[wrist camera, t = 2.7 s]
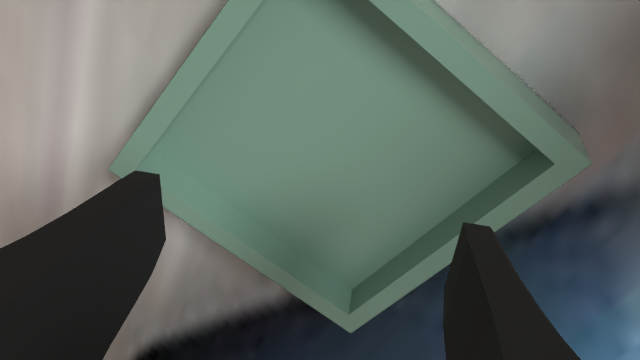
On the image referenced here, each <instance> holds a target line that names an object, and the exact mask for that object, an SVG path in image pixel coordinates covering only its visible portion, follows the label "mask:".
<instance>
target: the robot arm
mask: <svg viewBox="0 0 640 360" xmlns="http://www.w3.org/2000/svg"><path fill="white" fill-rule="evenodd" d="M165 240H166V235H165V225H164V214H163V204H162V193H161V183H160V174H155V173H149V172H143V171H136V170H135V171H133V172H132V173H130V174H128V175H126V176H125V177H123V178H122V179H120V180H118V181H117V182H115V183H114V184H112V185H111V186H109V187H108V188H106V189H104V190H103V191H101V192H100V193H98V194H97V195H95V196H93V197H92V198H90V199H89V200H87V201H85V202H84V203H82V204H81V205H79V206H77V207H76V208H74V209H73V210H71V211H69V212H68V213H66V214H64V215H63V216H61V217H59V218H57V219H56V220H54V221H52V222H50V223H48V224H47V225H45V226H43V227H41V228H40V229H38V230H36V231H34V232H32V233H31V234H29V235H27V236H25V237H23V238H21V239H19V240H17V241H15V242H13V243H11V244H9V245H7V246H5V247H3V248H0V360H103V358H104V356H105V354H106V352H107V350H108V348H109V347H110V345H111V343H112V342H113V340H114V338H115V336H116V335H117V333H118V331H119V330H120V328H121V326H122V325H123V323H124V321H125V319H126V318H127V316H128V314H129V313H130V311H131V309H132V308H133V306H134V304H135V303H136V301H137V299H138V297H139V296H140V294H141V292H142V290H143V289H144V287H145V285H146V283H147V282H148V280H149V278H150V276H151V274H152V272H153V270H154V267H155V265H156V263H157V260H158V258H159V256H160V253H161V250H162V248H163V245H164V243H165ZM443 327H444V339H445V350H446V360H581V359H580V358H579V357H578V356H577V355H576V353H575V352H574V351H573V350H572V349H571V348H570V347H569V345H568V344H567V343H566V342H565V341H564V340H563V338H562V337H561V336H560V334H559V333H558V332H557V331H556V329H555V328H554V327H553V325H552V324H551V323H550V321H549V320H548V318H547V317H546V316H545V314H544V313H543V312H542V310H541V309H540V307H539V306H538V304H537V303H536V301H535V300H534V298H533V297H532V295H531V294H530V292H529V291H528V289H527V288H526V286H525V285H524V283H523V281H522V280H521V278H520V277H519V275H518V273H517V272H516V270H515V268H514V267H513V265H512V263H511V262H510V260H509V258H508V256H507V255H506V253H505V251H504V249H503V248H502V246H501V244H500V242H499V240H498V238H497V237H496V235H495V233H494V231H493V230H492V228H491V227H490V226H485V225H478V224H472V223H466V222H463V224H462V228H461V231H460V235H459V238H458V242H457V245H456V249H455V252H454V255H453V259H452V262H451V266H450V269H449V273H448V276H447V280H446V283H445V290H444V318H443Z"/></svg>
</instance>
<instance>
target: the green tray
mask: <svg viewBox="0 0 640 360" xmlns="http://www.w3.org/2000/svg"><path fill="white" fill-rule="evenodd" d="M591 164H592V162H591V160H590V158H589V155H588V153H587V151H586V149H585V146H584V144H583V142H582V139H581V137H580V135H579V133H578V132H577V131H576V130H575V129H574V128H573V127H571V126H570V125H569V124H568V123H567V122H566V121H565V120H564V119H563V118H562V117H561V116H559V115H558V114H557V113H556V112H555V111H554V110H553V109H552V108H551V107H550V106H549V105H547V104H546V103H545V102H544V101H543V100H542V99H541V98H540V97H539V96H538V95H537V94H535V93H534V92H533V91H532V90H531V89H530V88H529V87H528V86H527V85H526V84H525V83H523V82H522V81H521V80H520V79H519V78H518V77H517V76H516V75H515V74H514V73H513V72H511V71H510V70H509V69H508V68H507V67H506V66H505V65H504V64H503V63H502V62H501V61H499V60H498V59H497V58H496V57H495V56H494V55H493V54H492V53H491V52H490V51H489V50H487V49H486V48H485V47H484V46H483V45H482V44H481V43H480V42H479V41H478V40H477V39H475V38H474V37H473V36H472V35H471V34H470V33H469V32H468V31H467V30H466V29H465V28H463V27H462V26H461V25H460V24H459V23H458V22H457V21H456V20H455V19H454V18H453V17H451V16H450V15H449V14H448V13H447V12H446V11H445V10H444V9H443V8H442V7H441V6H439V5H438V4H437V3H436V2H435V1H434V0H229V1H228V2H227V3H226V5H225V6H224V8H223V9H222V10H221V12H220V13H219V15H218V16H217V17H216V19H215V20H214V22H213V23H212V24H211V26H210V27H209V29H208V30H207V31H206V33H205V34H204V36H203V37H202V38H201V40H200V41H199V43H198V44H197V45H196V47H195V48H194V50H193V51H192V52H191V54H190V55H189V57H188V58H187V59H186V61H185V62H184V64H183V65H182V66H181V68H180V69H179V71H178V72H177V73H176V75H175V76H174V78H173V79H172V80H171V82H170V83H169V85H168V86H167V87H166V89H165V90H164V92H163V93H162V94H161V96H160V97H159V99H158V100H157V101H156V103H155V104H154V106H153V107H152V108H151V110H150V111H149V113H148V114H147V115H146V117H145V118H144V120H143V121H142V122H141V124H140V125H139V127H138V128H137V129H136V131H135V132H134V134H133V135H132V136H131V138H130V139H129V141H128V142H127V143H126V145H125V146H124V148H123V149H122V150H121V152H120V153H119V155H118V156H117V157H116V159H115V160H114V162H113V163H112V164H111V166H110V167H109V169H108V170H110V171H111V172H113V173H114V174H116V175H117V176H118V177H120V178H121V179H122V178H123V177H125V176H126V175H128V174H130V173H132V172H133V171H135V170H136V171H143V172H149V173H155V174H160V183H161V193H162V204H163V207H164V208H166V209H167V210H169V211H170V212H172V213H173V214H175V215H176V216H178V217H179V218H181V219H182V220H184V221H185V222H187V223H188V224H190V225H191V226H193V227H194V228H195V229H197V230H198V231H200V232H201V233H203V234H204V235H206V236H207V237H209V238H210V239H212V240H213V241H215V242H216V243H218V244H219V245H221V246H222V247H224V248H225V249H227V250H228V251H230V252H231V253H233V254H234V255H235V256H237V257H238V258H240V259H241V260H243V261H244V262H246V263H247V264H249V265H250V266H252V267H253V268H255V269H256V270H258V271H259V272H261V273H262V274H264V275H265V276H267V277H268V278H270V279H271V280H273V281H274V282H275V283H277V284H278V285H280V286H281V287H283V288H284V289H286V290H287V291H289V292H290V293H292V294H293V295H295V296H296V297H298V298H299V299H301V300H302V301H304V302H305V303H307V304H308V305H310V306H311V307H312V308H314V309H315V310H317V311H318V312H320V313H321V314H323V315H324V316H326V317H327V318H329V319H330V320H332V321H333V322H335V323H336V324H338V325H339V326H341V327H342V328H344V329H345V330H347V331H348V332H350V333H352V332H353V331H355V330H356V329H358V328H359V327H361V326H362V325H363V324H365V323H366V322H368V321H369V320H370V319H372V318H373V317H375V316H376V315H378V314H379V313H380V312H382V311H383V310H385V309H386V308H388V307H389V306H390V305H392V304H393V303H395V302H396V301H397V300H399V299H400V298H402V297H403V296H405V295H406V294H407V293H409V292H410V291H412V290H413V289H415V288H416V287H417V286H419V285H420V284H422V283H423V282H425V281H426V280H427V279H429V278H430V277H432V276H433V275H434V274H436V273H437V272H439V271H440V270H442V269H443V268H444V267H446V266H447V265H449V264H450V263H451V262H452V259H453V255H454V252H455V249H456V245H457V242H458V238H459V235H460V231H461V228H462V224H463V222H466V223H472V224H478V225H485V226H490V227H491V228H492V230H493V231H494V232H496V231H497V230H498V229H500V228H501V227H503V226H504V225H506V224H507V223H508V222H510V221H511V220H513V219H514V218H516V217H517V216H518V215H520V214H521V213H523V212H524V211H526V210H527V209H528V208H530V207H531V206H533V205H534V204H535V203H537V202H538V201H540V200H541V199H543V198H544V197H545V196H547V195H548V194H550V193H551V192H553V191H554V190H555V189H557V188H558V187H560V186H561V185H563V184H564V183H565V182H567V181H568V180H570V179H571V178H572V177H574V176H575V175H577V174H578V173H580V172H581V171H582V170H584V169H585V168H587V167H588V166H590V165H591Z"/></svg>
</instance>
